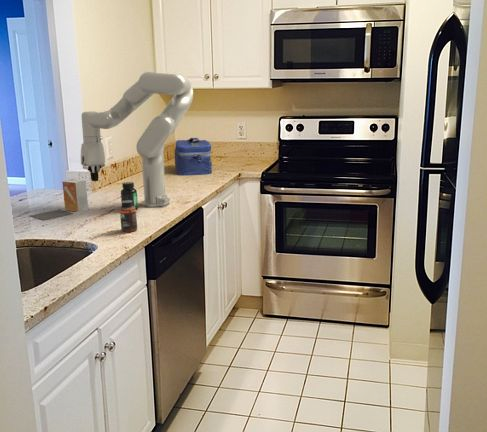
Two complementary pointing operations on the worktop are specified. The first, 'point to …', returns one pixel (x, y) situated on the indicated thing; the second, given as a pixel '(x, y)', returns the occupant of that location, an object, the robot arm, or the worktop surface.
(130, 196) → the supplement bottle
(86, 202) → the small box
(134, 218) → the supplement bottle
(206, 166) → the lunch bag
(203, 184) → the worktop surface
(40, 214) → the mat
